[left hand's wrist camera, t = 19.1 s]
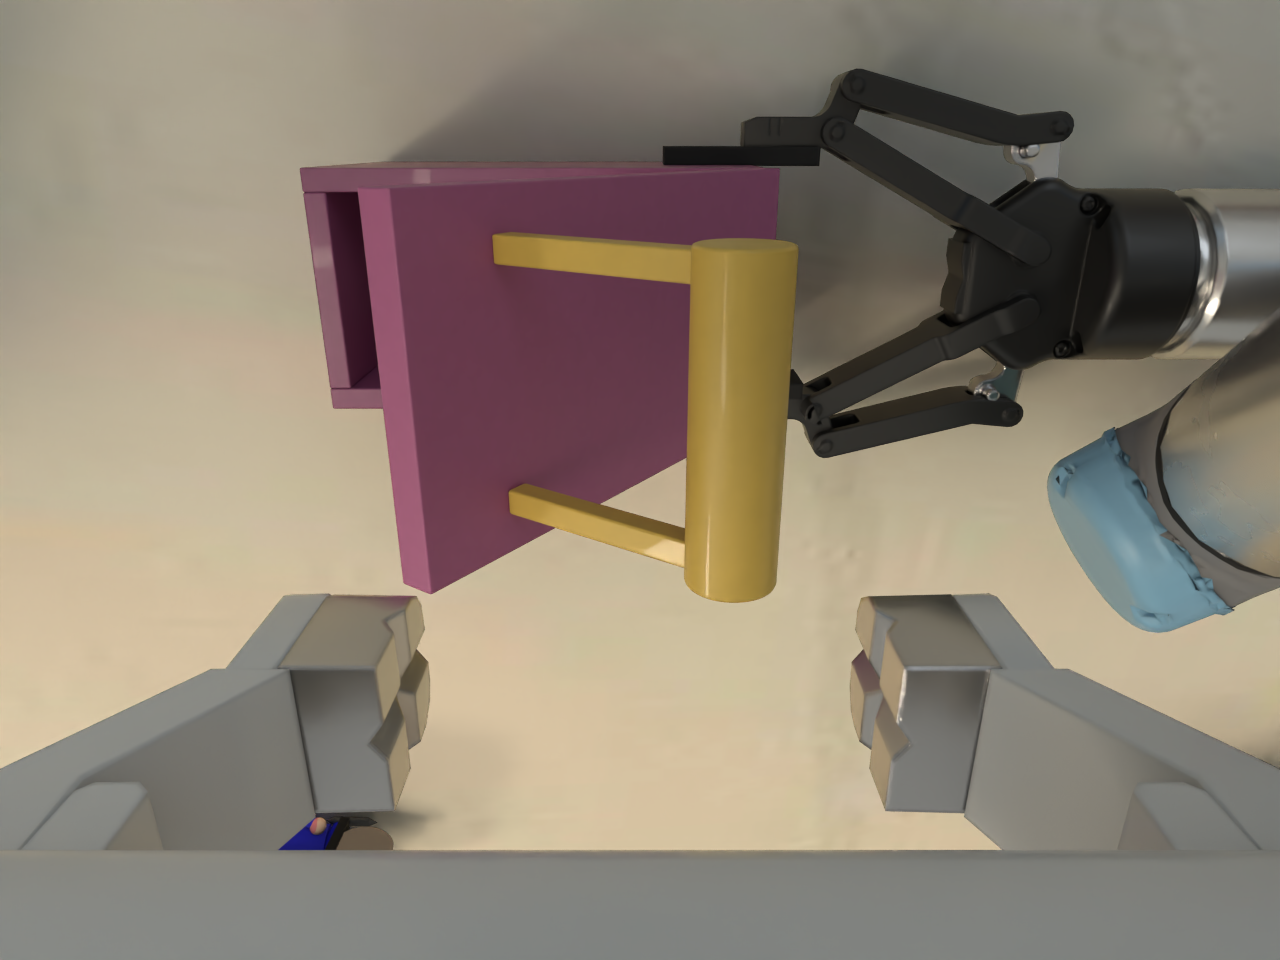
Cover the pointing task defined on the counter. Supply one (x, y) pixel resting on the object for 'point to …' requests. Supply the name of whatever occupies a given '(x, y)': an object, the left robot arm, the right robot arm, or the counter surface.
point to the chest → (344, 251)
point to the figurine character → (340, 835)
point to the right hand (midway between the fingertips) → (662, 275)
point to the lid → (584, 366)
